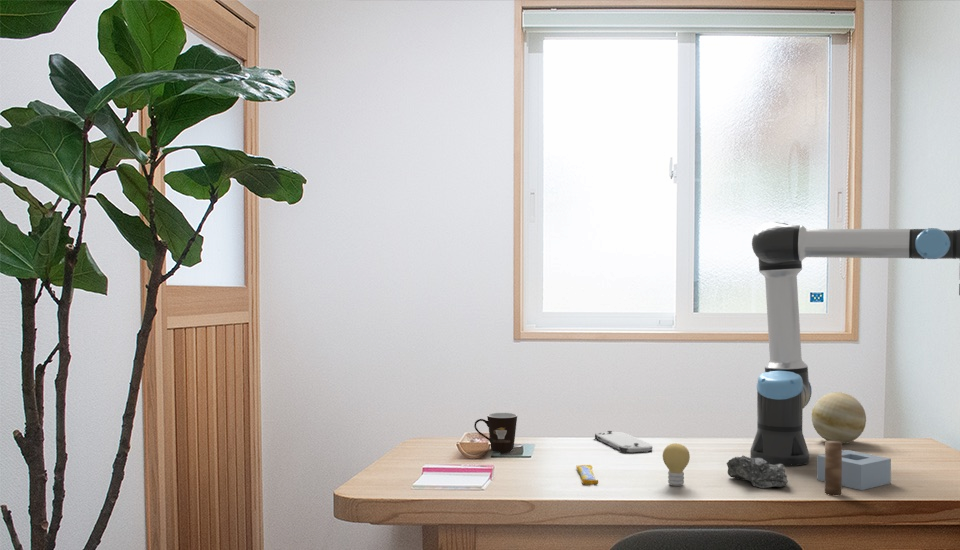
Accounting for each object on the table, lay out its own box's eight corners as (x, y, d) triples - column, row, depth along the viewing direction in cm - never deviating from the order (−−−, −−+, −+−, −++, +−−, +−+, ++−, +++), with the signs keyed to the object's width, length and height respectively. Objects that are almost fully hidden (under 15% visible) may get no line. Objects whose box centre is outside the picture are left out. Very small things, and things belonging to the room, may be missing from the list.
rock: (724, 472, 224) (724, 442, 219) (775, 464, 224) (776, 434, 218) (740, 509, 213) (740, 478, 208) (794, 501, 212) (795, 470, 207)
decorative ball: (806, 437, 271) (806, 388, 271) (857, 438, 269) (858, 389, 269) (818, 447, 256) (818, 396, 256) (872, 449, 254) (873, 397, 254)
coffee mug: (522, 449, 255) (522, 414, 255) (507, 454, 248) (507, 419, 248) (488, 444, 261) (488, 410, 261) (472, 449, 254) (472, 415, 254)
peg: (824, 494, 206) (824, 443, 205) (825, 490, 209) (825, 440, 209) (841, 496, 204) (841, 444, 204) (841, 492, 207) (842, 441, 207)
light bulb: (684, 489, 210) (684, 447, 210) (658, 486, 214) (658, 444, 213) (693, 483, 216) (693, 442, 215) (667, 480, 219) (668, 439, 219)
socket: (861, 490, 209) (861, 464, 209) (817, 479, 219) (817, 455, 219) (890, 483, 216) (890, 458, 216) (846, 473, 226) (846, 449, 226)
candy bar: (599, 487, 214) (599, 479, 214) (581, 487, 214) (582, 479, 214) (592, 470, 231) (592, 463, 231) (575, 470, 231) (576, 463, 231)
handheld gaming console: (656, 443, 251) (624, 445, 249) (656, 453, 251) (624, 455, 249) (622, 428, 273) (592, 430, 271) (622, 437, 274) (592, 439, 271)
